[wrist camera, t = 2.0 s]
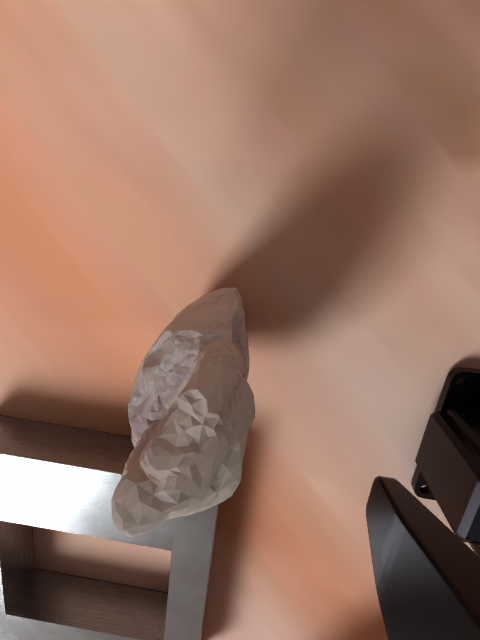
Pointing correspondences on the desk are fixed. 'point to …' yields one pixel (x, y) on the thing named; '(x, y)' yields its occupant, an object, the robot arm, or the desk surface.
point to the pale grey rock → (188, 416)
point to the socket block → (96, 521)
